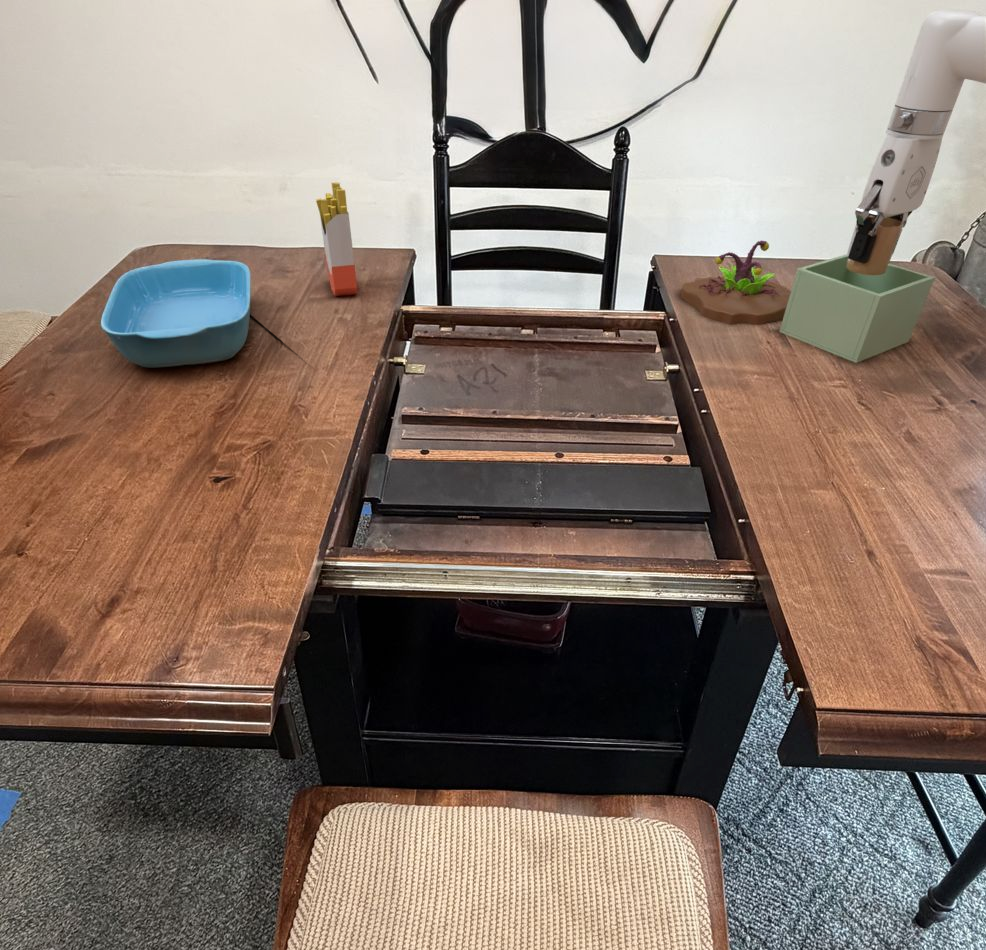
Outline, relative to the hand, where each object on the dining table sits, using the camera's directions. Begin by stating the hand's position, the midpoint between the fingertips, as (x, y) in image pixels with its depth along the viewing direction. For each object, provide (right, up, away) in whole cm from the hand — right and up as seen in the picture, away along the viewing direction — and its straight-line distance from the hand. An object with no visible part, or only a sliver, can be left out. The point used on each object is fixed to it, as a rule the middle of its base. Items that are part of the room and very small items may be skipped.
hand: (870, 256), depth 113 cm
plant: (-14, 0, +20) cm, 25 cm away
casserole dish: (-112, -10, +8) cm, 112 cm away
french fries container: (-89, +4, +23) cm, 92 cm away
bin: (0, -10, +9) cm, 13 cm away
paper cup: (0, -1, +1) cm, 2 cm away
